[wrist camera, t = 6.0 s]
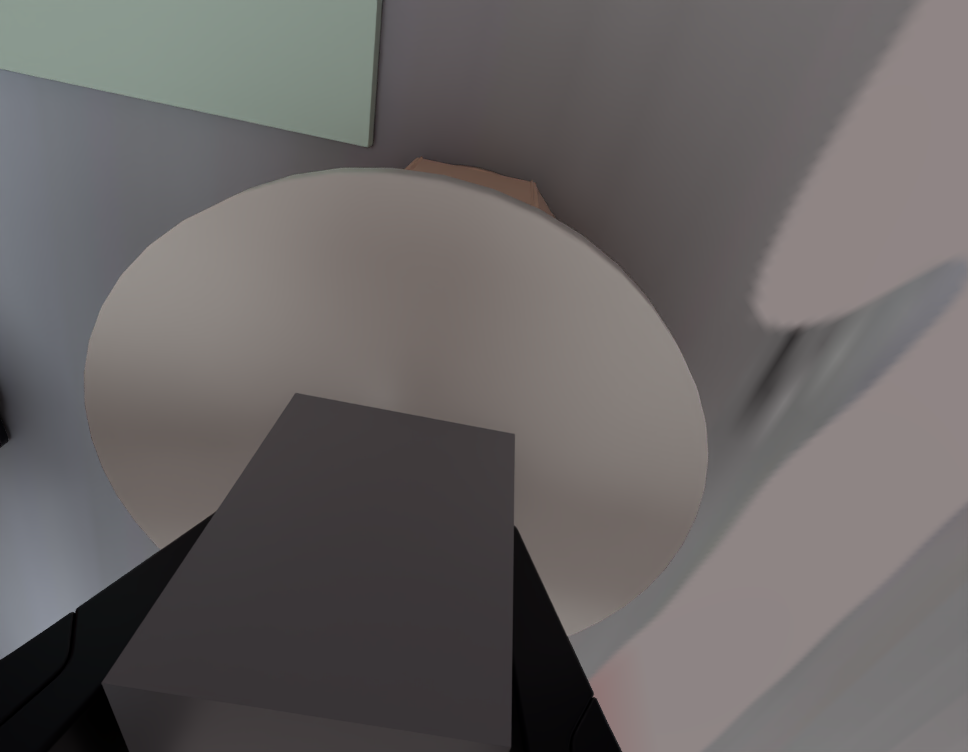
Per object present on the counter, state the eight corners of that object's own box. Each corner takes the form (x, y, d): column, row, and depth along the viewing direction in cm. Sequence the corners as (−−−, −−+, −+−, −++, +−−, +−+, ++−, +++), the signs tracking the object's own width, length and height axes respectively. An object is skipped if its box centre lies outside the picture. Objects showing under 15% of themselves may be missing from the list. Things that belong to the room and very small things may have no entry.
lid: (160, 589, 14) (-38, 882, 9) (40, 89, 8) (-869, 150, 3) (591, 660, 14) (629, 972, 10) (818, 254, 8) (1280, 558, 3)
